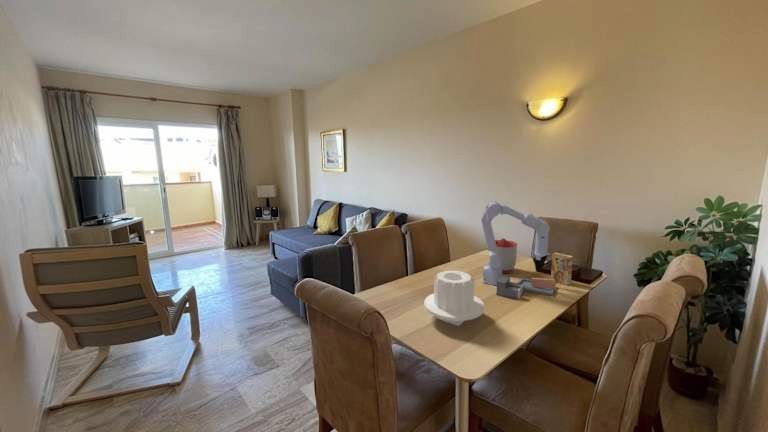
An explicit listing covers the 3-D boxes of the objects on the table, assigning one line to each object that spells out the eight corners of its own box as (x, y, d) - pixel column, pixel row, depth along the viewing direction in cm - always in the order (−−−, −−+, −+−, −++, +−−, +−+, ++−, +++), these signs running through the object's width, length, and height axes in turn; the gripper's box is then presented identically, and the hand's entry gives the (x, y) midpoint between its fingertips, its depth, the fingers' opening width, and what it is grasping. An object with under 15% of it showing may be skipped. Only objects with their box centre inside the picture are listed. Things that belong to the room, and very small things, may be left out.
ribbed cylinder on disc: (441, 299, 152) (442, 262, 149) (492, 314, 137) (494, 273, 133) (413, 321, 133) (412, 279, 130) (468, 341, 118) (469, 294, 114)
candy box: (571, 283, 166) (573, 256, 163) (566, 285, 164) (569, 257, 161) (554, 278, 173) (556, 252, 171) (550, 280, 171) (552, 253, 168)
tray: (515, 289, 162) (515, 286, 161) (520, 280, 172) (520, 278, 172) (552, 296, 152) (552, 293, 152) (555, 286, 163) (555, 284, 162)
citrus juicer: (490, 263, 200) (491, 233, 196) (519, 268, 190) (520, 236, 186) (482, 271, 188) (482, 239, 184) (512, 277, 178) (513, 243, 174)
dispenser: (496, 294, 156) (496, 281, 155) (501, 287, 164) (502, 274, 163) (518, 299, 150) (519, 285, 149) (522, 291, 158) (523, 278, 157)
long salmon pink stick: (531, 286, 162) (530, 278, 162) (531, 286, 163) (531, 277, 163) (555, 289, 156) (554, 280, 156) (555, 288, 157) (555, 279, 157)
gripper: (548, 248, 152) (546, 275, 154) (552, 241, 163) (550, 266, 166) (532, 246, 156) (530, 272, 158) (537, 240, 167) (535, 264, 170)
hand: (539, 269), depth 162 cm, fingers open, 7 cm apart
